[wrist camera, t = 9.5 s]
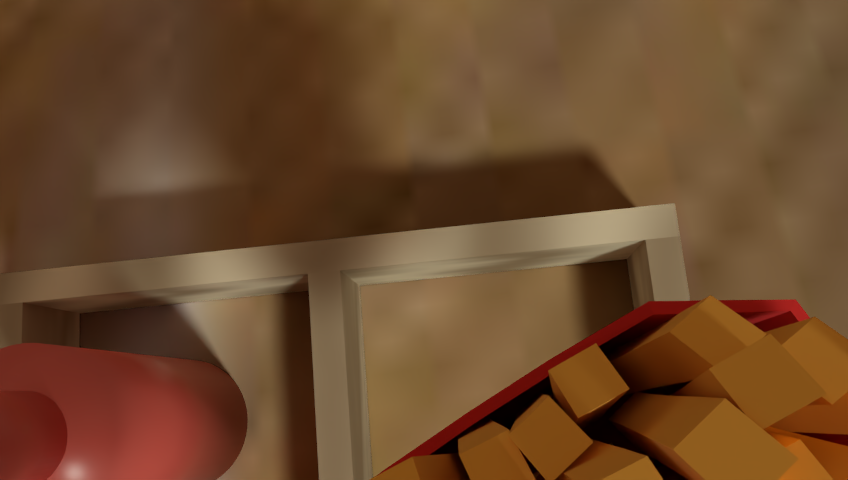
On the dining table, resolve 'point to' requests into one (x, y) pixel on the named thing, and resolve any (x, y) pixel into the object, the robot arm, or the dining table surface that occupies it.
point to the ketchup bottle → (115, 416)
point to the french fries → (664, 403)
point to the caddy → (345, 292)
